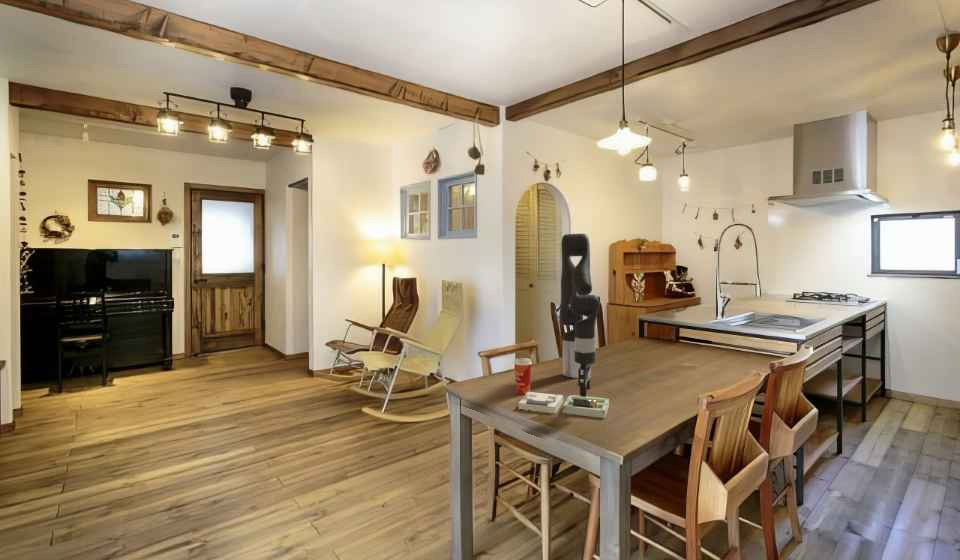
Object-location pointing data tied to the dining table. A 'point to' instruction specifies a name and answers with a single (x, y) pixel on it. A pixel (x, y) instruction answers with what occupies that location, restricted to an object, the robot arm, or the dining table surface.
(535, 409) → the white battery holder
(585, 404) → the cell
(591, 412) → the tray
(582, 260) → the robot arm
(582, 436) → the dining table surface
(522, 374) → the paper cup
